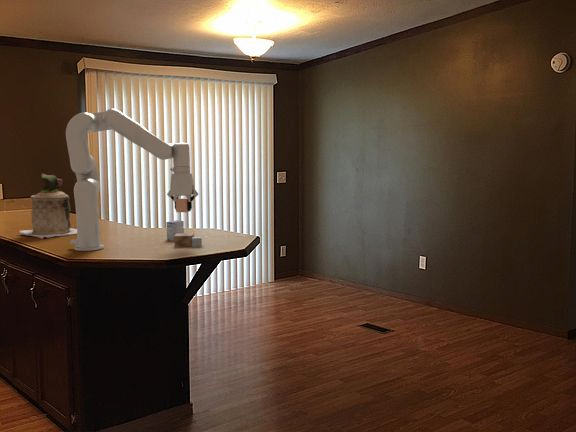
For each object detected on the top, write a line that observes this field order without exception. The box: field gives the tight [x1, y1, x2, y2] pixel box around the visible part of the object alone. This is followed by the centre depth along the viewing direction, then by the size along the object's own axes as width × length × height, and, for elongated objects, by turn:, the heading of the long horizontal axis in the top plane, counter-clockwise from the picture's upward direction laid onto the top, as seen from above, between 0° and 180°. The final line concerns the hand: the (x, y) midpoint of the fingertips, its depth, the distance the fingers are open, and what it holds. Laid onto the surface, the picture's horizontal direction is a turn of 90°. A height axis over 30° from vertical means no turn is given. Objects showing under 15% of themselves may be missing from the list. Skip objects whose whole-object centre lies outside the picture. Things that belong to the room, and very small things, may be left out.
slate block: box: [191, 236, 203, 248], centre depth 260 cm, size 4×4×4 cm
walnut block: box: [173, 232, 195, 247], centre depth 264 cm, size 8×8×5 cm
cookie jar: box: [19, 173, 77, 239], centre depth 302 cm, size 25×25×32 cm
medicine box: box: [165, 219, 185, 241], centre depth 282 cm, size 8×4×9 cm, turn 149°
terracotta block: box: [175, 197, 192, 213], centre depth 262 cm, size 5×5×6 cm
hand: (183, 210), depth 262 cm, fingers closed on terracotta block, 5 cm apart
